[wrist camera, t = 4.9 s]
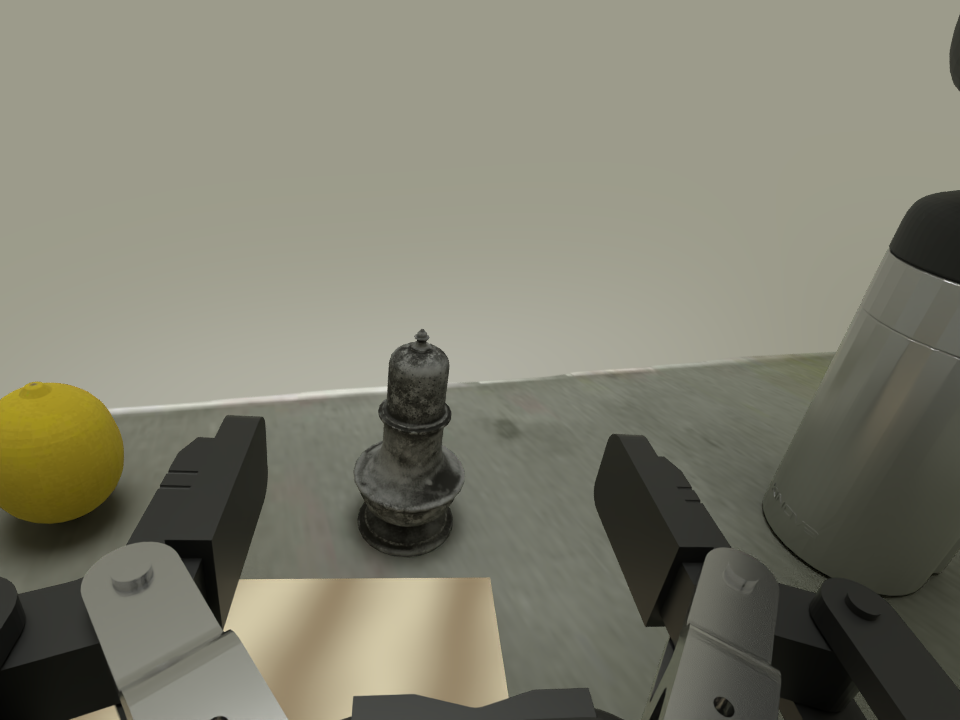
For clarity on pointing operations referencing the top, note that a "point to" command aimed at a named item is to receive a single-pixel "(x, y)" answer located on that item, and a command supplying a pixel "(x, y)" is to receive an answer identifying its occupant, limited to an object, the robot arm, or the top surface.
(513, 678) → the top surface
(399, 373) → the salt shaker
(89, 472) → the lemon
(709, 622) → the robot arm
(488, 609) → the birch board
